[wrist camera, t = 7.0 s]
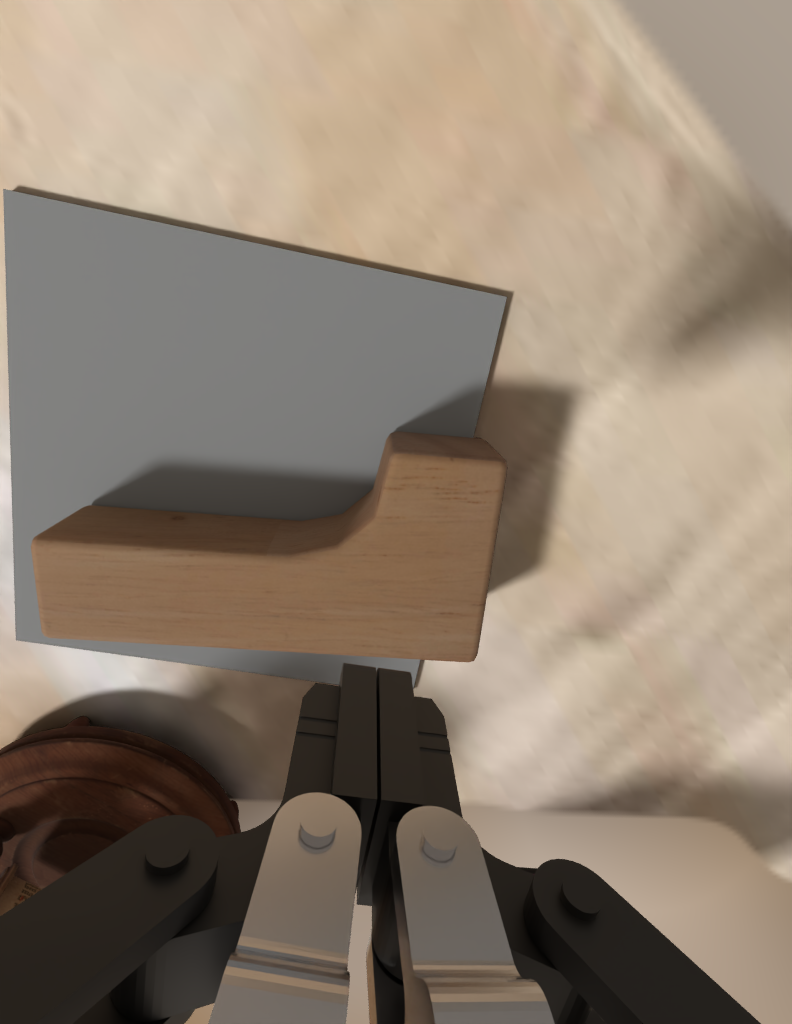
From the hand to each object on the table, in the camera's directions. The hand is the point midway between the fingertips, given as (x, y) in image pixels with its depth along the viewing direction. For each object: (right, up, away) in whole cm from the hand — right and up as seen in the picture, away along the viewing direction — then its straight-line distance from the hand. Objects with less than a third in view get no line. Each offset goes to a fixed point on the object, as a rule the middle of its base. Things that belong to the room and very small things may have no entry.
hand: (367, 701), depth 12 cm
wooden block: (+5, +3, +12) cm, 13 cm away
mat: (-6, +6, +13) cm, 16 cm away
